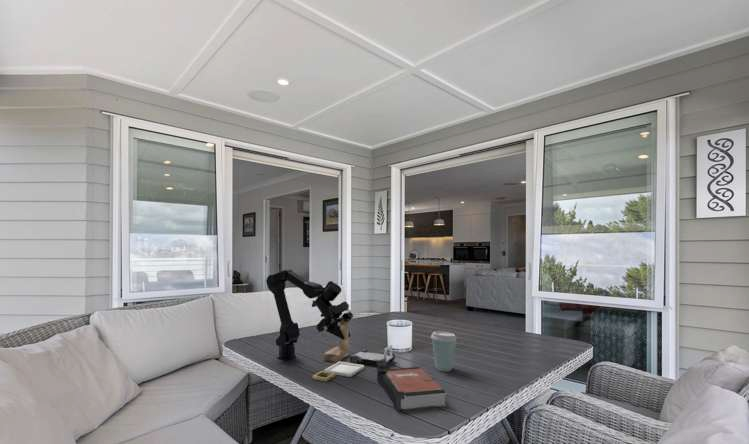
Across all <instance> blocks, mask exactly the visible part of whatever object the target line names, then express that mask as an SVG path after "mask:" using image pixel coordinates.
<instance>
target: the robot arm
mask: <svg viewBox="0 0 749 444" xmlns="http://www.w3.org/2000/svg"><path fill="white" fill-rule="evenodd" d="M286 282H289V283H291V284H293V285H294V286H296V287H297V288H298V289H300V290H301V291H302V293H303V294H304V295H305V297H306V298H308V299H315V298H316V299H315V300H312V303H311V307H312V308H315V307H316V308H317V309H318V310H319V312H320V313H321V314H320V317H321V318H322V319H321V320H320V321H319V322H318V323H317V325H316V330H317V331H318V333H321V332H324V330H325V327H326V330H325V332H326V333H329V334H331V335H334V336H335V337H337V338H339V339H340V338H341V339H342V340H343V339H344V336H343V334H342V332H341V330H340V323H341V322H348V323H349V322H350V321H351V319H352V318H353V317H354V315H353V313H352V312H350V311H349V307H350V304H348V302H347V301H345V300H344V301H342V302H341V303H339V304H334V305H333V304H332V302H334V301H335V299H336V298H337V297H338V296H339V295H340V294H341V292H342V288H341V286H340V285H338V283H335V282H333V280H330V281H328V282H327V284H326V285H325V287H324V286H323V285H322V284H319V283H317V282H313V281H309V280H308V279H305V278H304V277H302V276H301V275H299V274H297V273H296V272H294V271H293V270H292V269H283V270H281V271H280V272H276V273H274V274H269V275H268V276H267V278H266V281H265V283H266V285H267V288H268V290H269V291H270V292H271V294H273V298H274V301H275V305H276V310H277V313H278V317H279V320H280V326H279V327H280V328H279V335H278V337H277V339H275V345H276V346H278V356H276V359H278V360H284V361H289V360H291V359H293V358H296V357H297V354H296V353H295V352H296V347H295V344H296V343H298V339H299V336H300V332H301V330H300V328H299V324H298V322H294V321H293V319H292V316H291V315H292V314H291V312H290V310H289V304H288V302H287V297H286V294H285V288H286V286H287V285H286ZM346 311H347V312H346ZM349 338H351V333H350V329H349V328H348V339H349Z"/></svg>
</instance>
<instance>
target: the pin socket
mask: <svg viewBox="0 0 749 444" xmlns="http://www.w3.org/2000/svg"><path fill="white" fill-rule="evenodd" d="M324 376H326V377H324ZM335 377H336V375H335V373H330V372H324V370H323V371H322V370H321V371H319V372H317V373H316V374H313V375H312V376H311V379H312V380H314V381H321V382H324V383H325V382H328V381H330V380H332V379H333V378H335Z"/></svg>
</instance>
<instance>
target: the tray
mask: <svg viewBox="0 0 749 444" xmlns="http://www.w3.org/2000/svg"><path fill="white" fill-rule="evenodd" d="M363 369H365V365H364V364H361V363H360V364H358V363H357V364H353V363H350V362H347V361H346V362H345V361H339V362H335V363H334V364H333V365H330V366H329V367H327V368H325V369H324V370H323V371H324V372H330V373H335V376H341V377H347V378H351V377H353V376H354V375H356V374H358V373H359V372H361V371H362V370H363Z"/></svg>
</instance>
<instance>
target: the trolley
mask: <svg viewBox="0 0 749 444" xmlns="http://www.w3.org/2000/svg"><path fill="white" fill-rule="evenodd" d="M388 350H389V353H387V352H388ZM360 359H362V360H369V361H375V362H376V361H377V362H376V365H377V369H384V368H386V367H387V364H388V363H387V362H389V363H393V362H394V361H395V360H396V355H395V354H394V352H393V344H390V345H388V346H387V347H384V349H383V354H381V353H376V352H369V350H368V349H362V350H361V351H359V352H357V353H355V354H354V355H352V356H350V358H349V363H353V364H358V363H359V362H360Z"/></svg>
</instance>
